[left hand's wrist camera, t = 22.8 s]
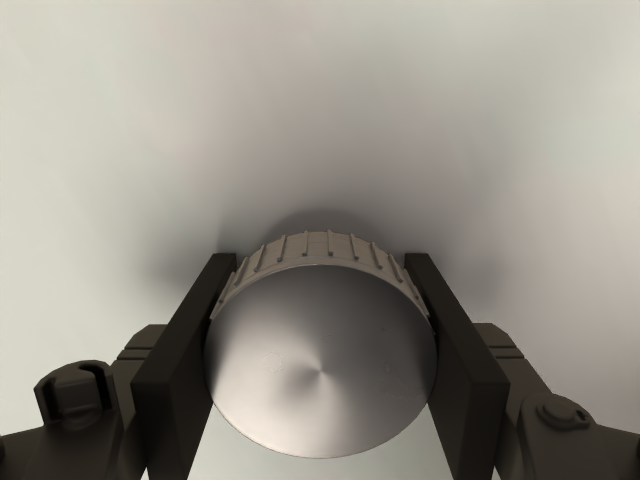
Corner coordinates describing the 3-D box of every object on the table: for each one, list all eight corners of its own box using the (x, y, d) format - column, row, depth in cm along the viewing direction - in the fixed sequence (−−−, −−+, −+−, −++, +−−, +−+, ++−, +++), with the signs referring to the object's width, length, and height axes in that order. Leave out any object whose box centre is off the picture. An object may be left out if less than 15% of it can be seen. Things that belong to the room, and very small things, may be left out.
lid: (240, 411, 13) (226, 470, 11) (198, 241, 11) (171, 275, 9) (424, 393, 13) (443, 450, 11) (416, 215, 11) (438, 245, 9)
